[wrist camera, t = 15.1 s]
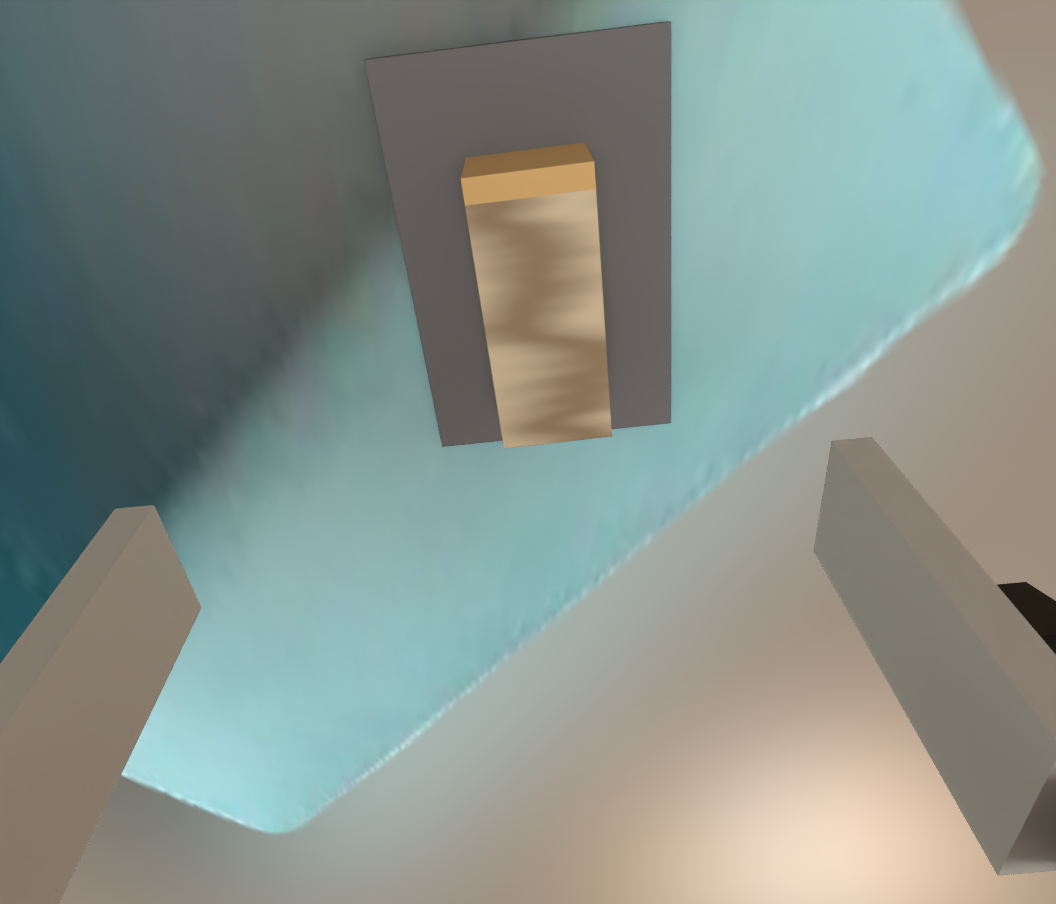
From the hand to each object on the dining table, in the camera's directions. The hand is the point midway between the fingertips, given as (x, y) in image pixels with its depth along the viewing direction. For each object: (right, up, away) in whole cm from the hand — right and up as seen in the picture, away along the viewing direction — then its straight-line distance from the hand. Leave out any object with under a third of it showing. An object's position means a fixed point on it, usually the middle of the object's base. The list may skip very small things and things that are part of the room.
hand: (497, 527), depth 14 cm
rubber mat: (+1, +10, +19) cm, 22 cm away
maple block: (+2, +3, +20) cm, 21 cm away
